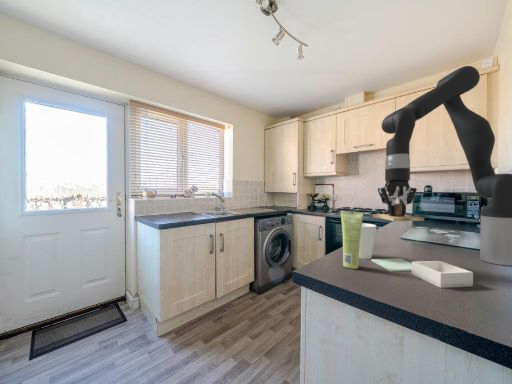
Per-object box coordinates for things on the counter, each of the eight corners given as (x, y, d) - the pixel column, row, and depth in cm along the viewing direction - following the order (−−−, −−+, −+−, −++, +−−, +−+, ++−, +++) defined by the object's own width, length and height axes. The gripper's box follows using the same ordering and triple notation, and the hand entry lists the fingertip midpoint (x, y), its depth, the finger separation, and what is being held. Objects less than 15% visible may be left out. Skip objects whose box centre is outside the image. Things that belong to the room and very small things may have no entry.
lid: (399, 216, 85) (399, 202, 84) (424, 220, 74) (424, 204, 74) (372, 216, 84) (372, 202, 83) (393, 221, 73) (393, 204, 72)
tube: (352, 263, 81) (352, 210, 80) (363, 268, 76) (363, 212, 76) (339, 265, 79) (340, 211, 78) (350, 270, 74) (350, 212, 74)
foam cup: (379, 261, 83) (379, 227, 83) (353, 259, 85) (353, 226, 85) (371, 253, 93) (371, 223, 93) (348, 252, 95) (348, 222, 94)
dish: (439, 272, 72) (440, 260, 72) (472, 286, 62) (473, 272, 62) (411, 273, 71) (411, 261, 71) (440, 287, 61) (440, 273, 61)
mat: (400, 259, 85) (400, 258, 85) (424, 270, 74) (424, 268, 74) (371, 260, 84) (371, 259, 84) (391, 271, 73) (391, 269, 73)
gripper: (407, 169, 83) (406, 214, 83) (372, 168, 81) (371, 214, 82) (424, 167, 75) (423, 216, 75) (386, 166, 74) (385, 217, 74)
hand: (396, 215), depth 79 cm, fingers closed on lid, 3 cm apart
